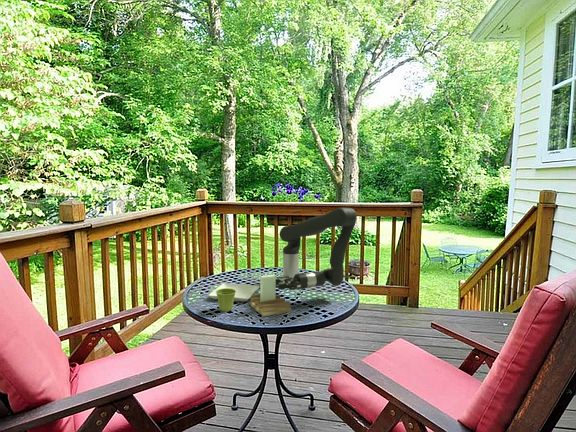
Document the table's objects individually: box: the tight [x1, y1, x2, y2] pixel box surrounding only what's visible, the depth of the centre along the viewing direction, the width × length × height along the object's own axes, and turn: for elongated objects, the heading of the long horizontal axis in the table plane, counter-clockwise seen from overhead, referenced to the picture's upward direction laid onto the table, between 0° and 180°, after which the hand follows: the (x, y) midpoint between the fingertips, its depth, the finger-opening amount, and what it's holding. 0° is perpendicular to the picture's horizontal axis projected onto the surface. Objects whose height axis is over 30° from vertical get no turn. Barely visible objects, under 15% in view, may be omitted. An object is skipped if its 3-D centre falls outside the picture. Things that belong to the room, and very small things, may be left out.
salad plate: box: [208, 282, 260, 302], centre depth 196 cm, size 21×21×3 cm
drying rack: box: [249, 291, 292, 317], centre depth 179 cm, size 17×14×4 cm
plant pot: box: [216, 288, 236, 312], centre depth 176 cm, size 9×9×9 cm
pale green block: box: [259, 274, 277, 302], centre depth 178 cm, size 3×6×14 cm, turn 116°
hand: (274, 284), depth 179 cm, fingers open, 8 cm apart
